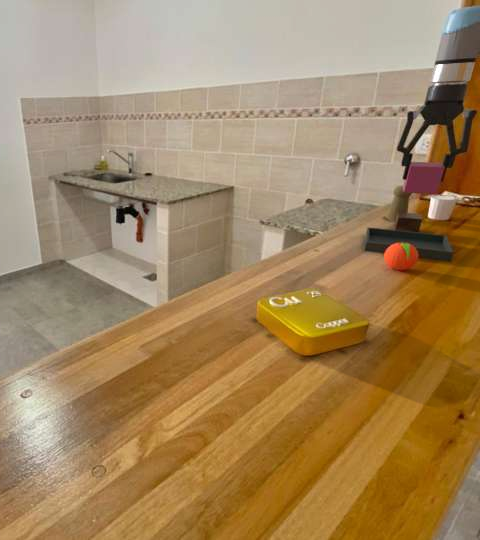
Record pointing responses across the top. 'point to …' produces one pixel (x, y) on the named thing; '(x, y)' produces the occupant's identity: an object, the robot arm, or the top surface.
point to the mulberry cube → (423, 178)
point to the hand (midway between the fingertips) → (422, 179)
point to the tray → (409, 242)
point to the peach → (401, 256)
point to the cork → (398, 203)
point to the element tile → (311, 321)
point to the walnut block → (408, 222)
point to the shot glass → (441, 207)
